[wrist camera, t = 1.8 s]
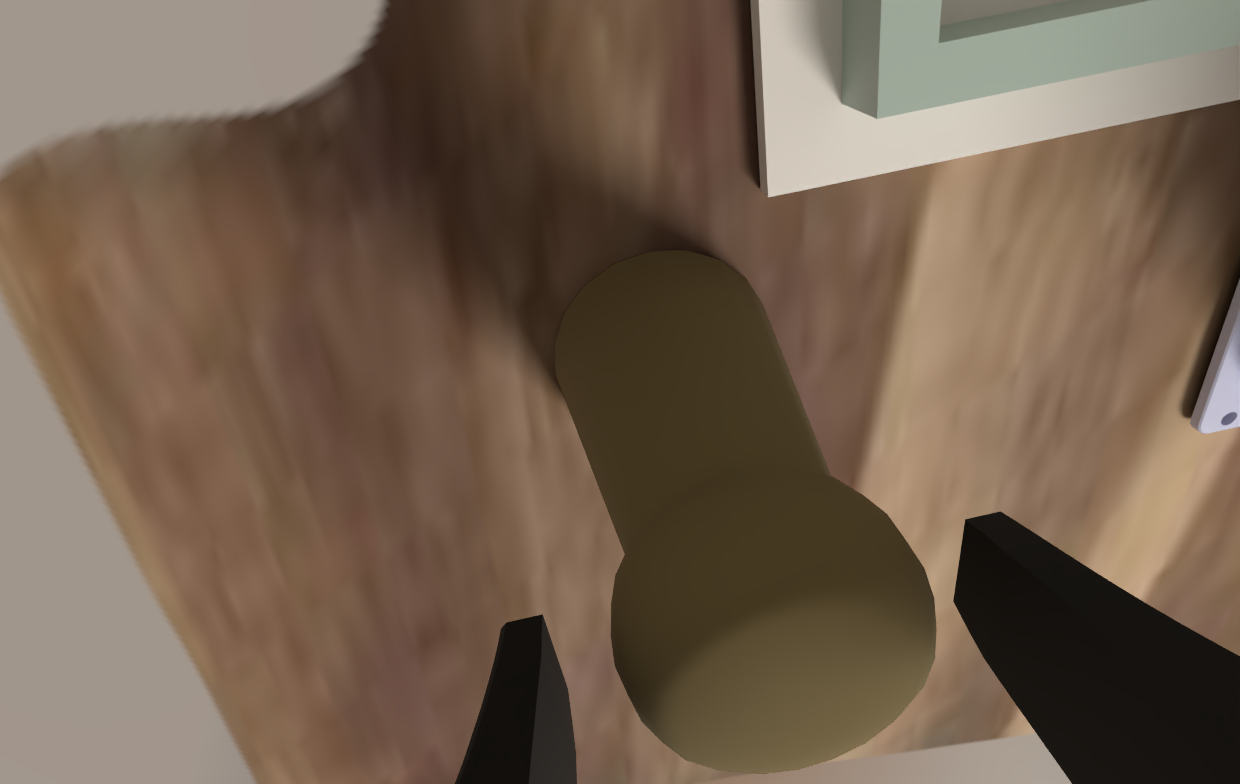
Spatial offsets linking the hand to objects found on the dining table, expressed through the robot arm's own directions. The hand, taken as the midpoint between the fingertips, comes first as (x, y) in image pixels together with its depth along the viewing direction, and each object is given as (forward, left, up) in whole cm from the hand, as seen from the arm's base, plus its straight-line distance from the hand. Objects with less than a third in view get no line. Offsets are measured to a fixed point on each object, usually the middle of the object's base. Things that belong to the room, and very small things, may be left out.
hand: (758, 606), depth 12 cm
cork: (0, 0, -9) cm, 9 cm away
